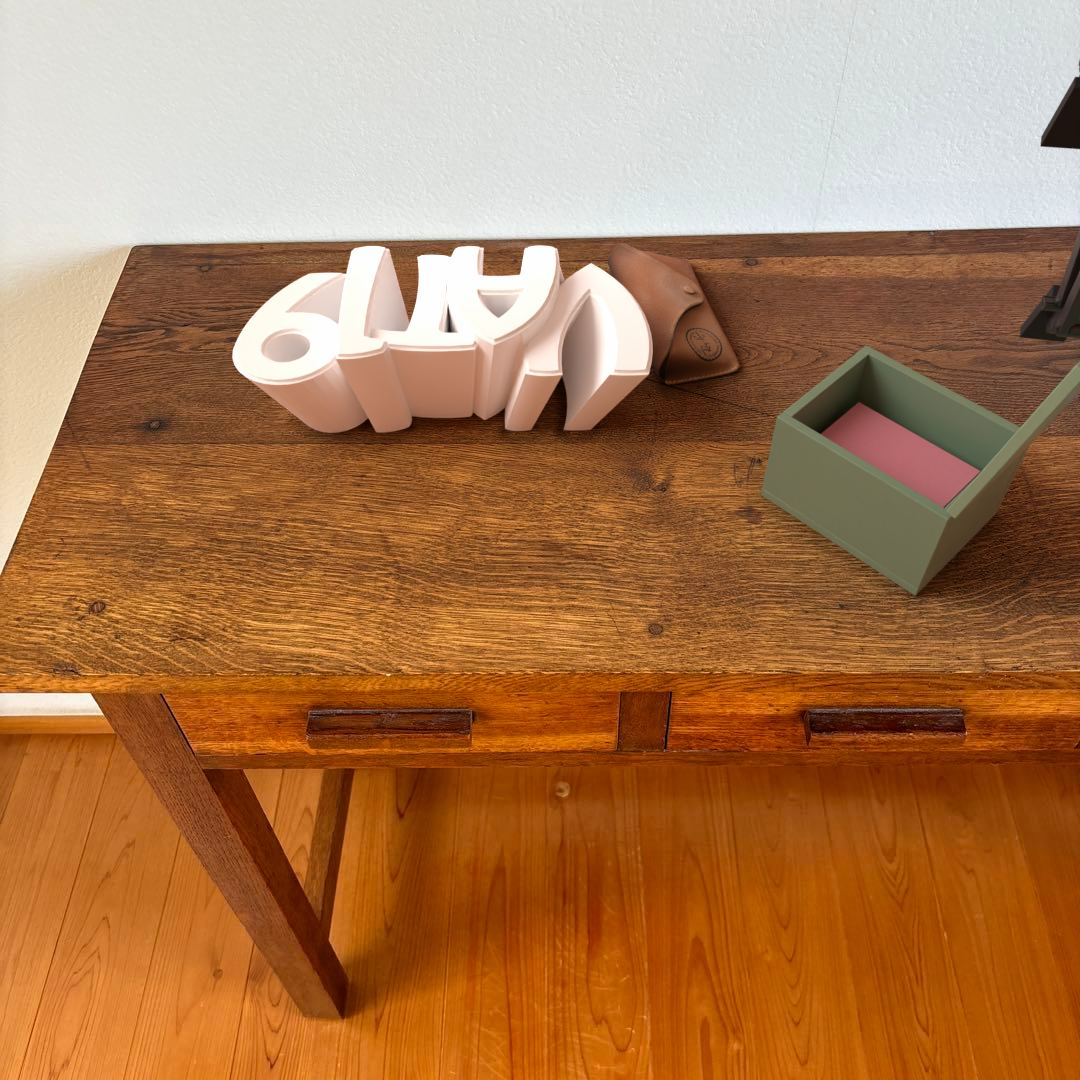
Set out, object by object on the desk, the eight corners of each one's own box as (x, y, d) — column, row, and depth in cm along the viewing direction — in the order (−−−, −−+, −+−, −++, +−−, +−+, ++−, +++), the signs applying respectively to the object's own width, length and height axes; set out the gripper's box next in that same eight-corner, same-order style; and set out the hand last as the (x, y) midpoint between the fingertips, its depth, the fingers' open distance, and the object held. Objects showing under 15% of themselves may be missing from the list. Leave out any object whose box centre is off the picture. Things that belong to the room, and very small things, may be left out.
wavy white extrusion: (648, 337, 96) (655, 241, 88) (646, 463, 86) (653, 367, 78) (287, 328, 99) (261, 233, 90) (242, 449, 88) (208, 354, 80)
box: (760, 495, 83) (776, 416, 76) (844, 424, 88) (866, 344, 81) (915, 596, 76) (948, 520, 69) (996, 513, 81) (1034, 434, 74)
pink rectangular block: (963, 510, 80) (981, 471, 77) (914, 559, 77) (929, 520, 74) (847, 441, 86) (859, 401, 82) (796, 484, 83) (806, 445, 79)
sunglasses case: (747, 367, 92) (718, 323, 87) (681, 408, 94) (649, 367, 89) (685, 254, 103) (657, 210, 99) (627, 293, 105) (596, 251, 101)
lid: (1075, 365, 56) (1087, 374, 56) (1170, 273, 61) (1182, 281, 61) (945, 512, 69) (954, 519, 69) (1032, 426, 74) (1041, 433, 74)
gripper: (1139, -214, 49) (1011, 63, 70) (1091, 267, 45) (972, 410, 66) (1311, -213, 48) (1129, 70, 68) (1277, 283, 44) (1095, 424, 65)
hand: (1051, 237), depth 67 cm, fingers open, 13 cm apart
